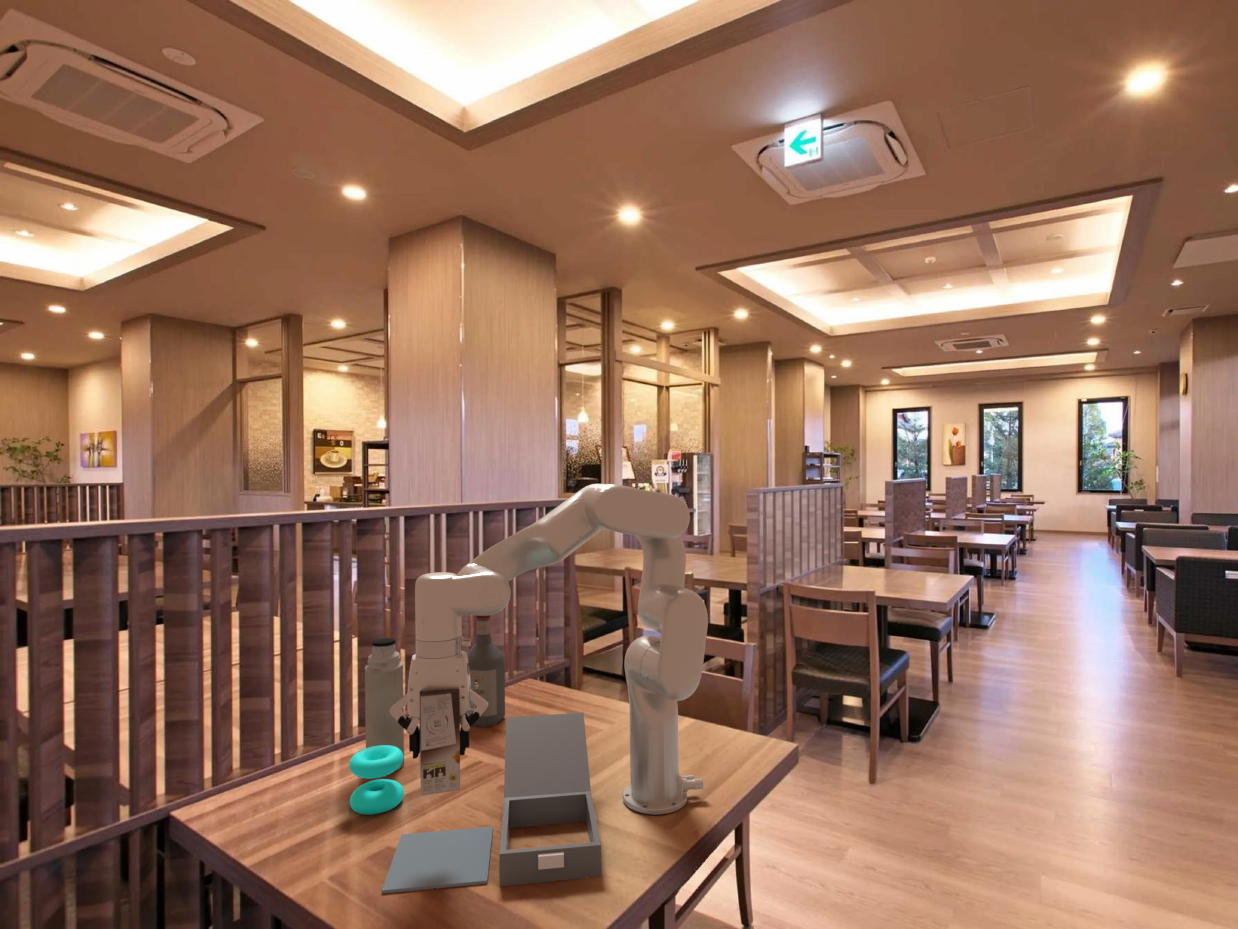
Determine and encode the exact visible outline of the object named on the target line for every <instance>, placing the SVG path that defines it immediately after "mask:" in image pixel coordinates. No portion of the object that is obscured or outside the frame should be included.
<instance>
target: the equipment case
mask: <svg viewBox="0 0 1238 929" xmlns="http://www.w3.org/2000/svg"><path fill="white" fill-rule="evenodd" d="M594 805H595V804H594V799H593V795H592V790H591V791H586V792H573V793H561V794H548V795H535V796H523V797H510V798H504V797H503V803H502V817H501V818H502V819H501V830H500V841H499V842H500V844H499V859H498V860H499V887H507V886H515V885H516V886H517V885H527V884H528V885H529V884H538V883H547V882H548V883H549V882H557V881H556V880H560V881H568V880H577V879H579V878H580V879H587V878H586V877H591V878H599V877H603V876H602V871H603V870H602V867H603V866H602V843H601V837H600V831H599V826H598V821H597V816H596V811H595V810H596V809H595V806H594ZM582 822H583V823H584V822H585V823H586V827H587V833H588V840H589V841H588V842H580V843H579V842H578V843H570V844H568V843H567V844H557V845H548V846H535V847H525V848H515V849H514V848H513V849H509V845H510V828H511V829H512V828H524V827H534V826H547V825H557V824H556V823H560V824H570V823H582ZM580 879H579V880H580Z"/></svg>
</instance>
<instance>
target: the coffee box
mask: <svg viewBox="0 0 1238 929" xmlns="http://www.w3.org/2000/svg"><path fill="white" fill-rule="evenodd" d="M419 729H420V753H419V768H420V769H419V771H420V772H419V773H420V775H419V776H420V796H429V795H435V794H436V795H437V794H442V793H449V792H456V791H459V790H460V789H461V755H460V729H461V725H460V701H459V689H448V690H432V691H420V721H419Z"/></svg>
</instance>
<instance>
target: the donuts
mask: <svg viewBox="0 0 1238 929" xmlns="http://www.w3.org/2000/svg"><path fill="white" fill-rule="evenodd" d="M402 762H403V753H402V751H401V750H400V749H399V748H397V747H395V746H390V745H379V746H373V747H369V748H366V747H365V748H363V749H361V750H359V751H358V752H356V753H354V755H353V756H351V759H350V760H349V763H348V764H349V766H348V767H349V770H350V772H351V773H352V774H353V775H354V776H356V777H358V778H362V779H367V780H370V779H374V780H370V781H367V782H364V783H362V784H360V785H359V786H358V787H357V788H356V789H355V790H353V792H352V793H351V795H350V798H349V806H350V807H351V809H352V811H353V812H355V813H357V814H360V815H366V816H368V815H370V816H371V815H378V814H382V813H385V812H389V811H390V810H392V809H394V808H396V807H397V806H398V805H399V804H401V802H402V801H403V798H404V795H405V791H404V787H403V785H402V784H401V783H400V782H398V781H397V780H394V779H388V778H383V777H387V776H388V775H392V773H395V772H397V771H398V770H397V769H398V768H399V767H400V766H401V764H402ZM396 770H397V771H396ZM394 771H395V772H394ZM378 778H379V779H378Z"/></svg>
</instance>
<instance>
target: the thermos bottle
mask: <svg viewBox="0 0 1238 929" xmlns="http://www.w3.org/2000/svg"><path fill="white" fill-rule="evenodd" d="M395 644H396V639H395V638H394V637H382V638H376V639H373V640H372V641H371V645H372V647H371V648H372V650H371V654H370V655H368V656H367V665H365V667H364V685H365V686H364V687H365V688H364V696H365V698H364V700H365V701H364V702H365V703H364V704H365V706H364V707H365V714H364V715H365V717H364V718H365V749H366V748H369V747H373V746H379V745H390V746H395V747H397V748H399V749H400V750H401V751H402V753H403V762H402V764H401V766H400V767H399V768H398V769H397V771H399V770H400V768H401V767H402V768H403V767H404V766H403V765H405V729H404V728H403V727H402V726H401V725H400V724H399V723H398V721H397V720H396V719H395V718H394V717H393V716H392V715H391V714H390V713H389V710H390V709H391V707H392V706H393V705H394V704H396V703H397V702H398V701H399V700H400V699H401V698H402V697H403V696H404V664H403V662H402V661H400V659H401V654H400V652H398V651H396V645H395ZM404 707H405V706H404ZM404 707H403V708H402V709H401V711H402V712H403V713H404V711H405V710H404ZM404 714H405V713H404ZM402 768H401V769H402Z"/></svg>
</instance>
